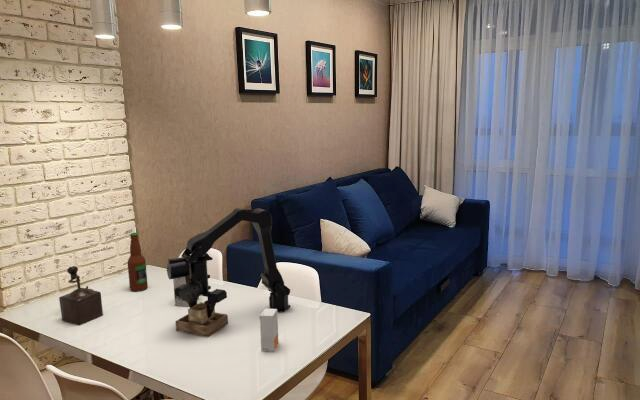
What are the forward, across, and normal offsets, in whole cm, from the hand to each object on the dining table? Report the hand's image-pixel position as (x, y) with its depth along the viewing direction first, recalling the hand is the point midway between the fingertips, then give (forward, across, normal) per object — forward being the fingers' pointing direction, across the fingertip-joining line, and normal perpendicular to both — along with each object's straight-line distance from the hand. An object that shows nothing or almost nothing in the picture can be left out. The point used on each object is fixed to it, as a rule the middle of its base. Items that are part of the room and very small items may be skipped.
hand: (202, 316), depth 170 cm
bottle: (+4, -51, +21) cm, 55 cm away
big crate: (+4, 0, 0) cm, 4 cm away
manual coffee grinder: (+4, -50, -10) cm, 51 cm away
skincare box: (+4, +30, -4) cm, 31 cm away
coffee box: (+4, -21, +17) cm, 27 cm away
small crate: (+1, 0, 0) cm, 1 cm away
